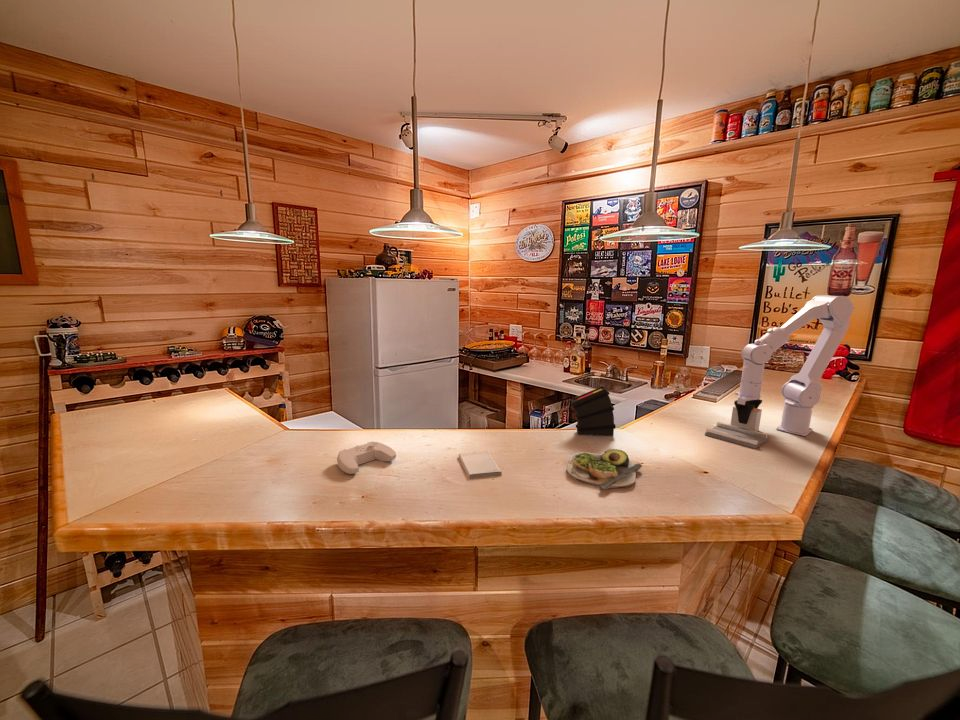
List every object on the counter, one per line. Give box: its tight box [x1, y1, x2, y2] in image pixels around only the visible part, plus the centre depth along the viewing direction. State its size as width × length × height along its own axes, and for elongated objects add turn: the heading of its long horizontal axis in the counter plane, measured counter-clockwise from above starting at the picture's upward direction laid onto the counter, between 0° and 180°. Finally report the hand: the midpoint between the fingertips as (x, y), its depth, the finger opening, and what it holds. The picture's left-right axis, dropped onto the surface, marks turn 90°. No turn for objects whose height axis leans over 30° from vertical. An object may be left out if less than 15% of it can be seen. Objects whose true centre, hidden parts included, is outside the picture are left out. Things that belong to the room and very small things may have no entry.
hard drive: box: [458, 451, 503, 480], centre depth 108 cm, size 2×8×12 cm
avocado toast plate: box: [566, 448, 643, 490], centre depth 104 cm, size 19×18×5 cm
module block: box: [730, 405, 763, 432], centre depth 138 cm, size 4×7×7 cm, turn 41°
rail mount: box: [704, 421, 769, 450], centre depth 131 cm, size 11×14×2 cm
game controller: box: [336, 440, 397, 475], centre depth 108 cm, size 14×4×10 cm
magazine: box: [570, 385, 617, 437], centre depth 131 cm, size 4×13×15 cm, turn 88°
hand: (745, 421), depth 138 cm, fingers closed on module block, 4 cm apart
